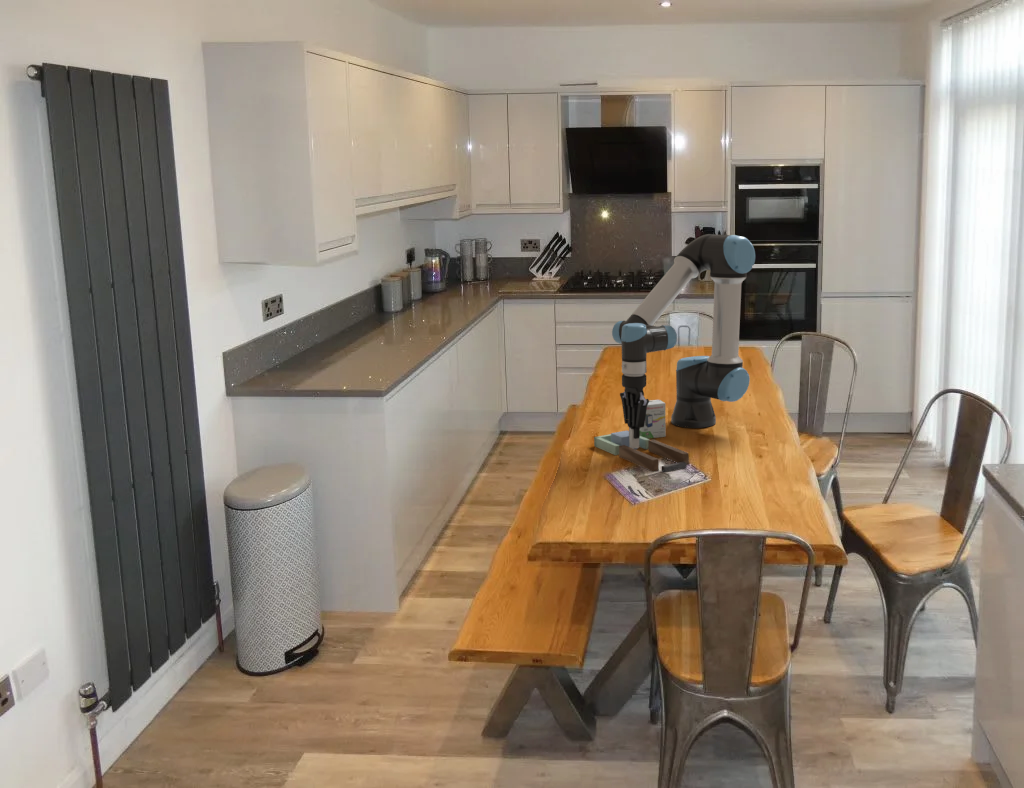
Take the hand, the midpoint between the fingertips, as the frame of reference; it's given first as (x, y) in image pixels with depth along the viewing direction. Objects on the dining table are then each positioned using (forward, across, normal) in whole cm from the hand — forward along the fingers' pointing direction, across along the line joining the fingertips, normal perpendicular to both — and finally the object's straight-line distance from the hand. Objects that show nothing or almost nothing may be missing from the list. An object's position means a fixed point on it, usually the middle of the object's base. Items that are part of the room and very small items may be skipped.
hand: (634, 447), depth 316 cm
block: (+2, -6, 0) cm, 6 cm away
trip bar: (+2, +20, +1) cm, 20 cm away
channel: (+2, +10, 0) cm, 10 cm away
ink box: (+2, -13, +15) cm, 20 cm away
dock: (+2, -7, 0) cm, 8 cm away
